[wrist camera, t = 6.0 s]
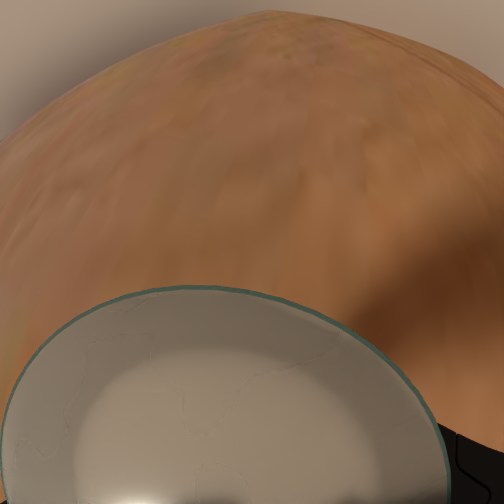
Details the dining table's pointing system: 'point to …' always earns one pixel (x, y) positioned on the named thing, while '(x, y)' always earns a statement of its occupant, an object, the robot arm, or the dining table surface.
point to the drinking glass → (216, 409)
